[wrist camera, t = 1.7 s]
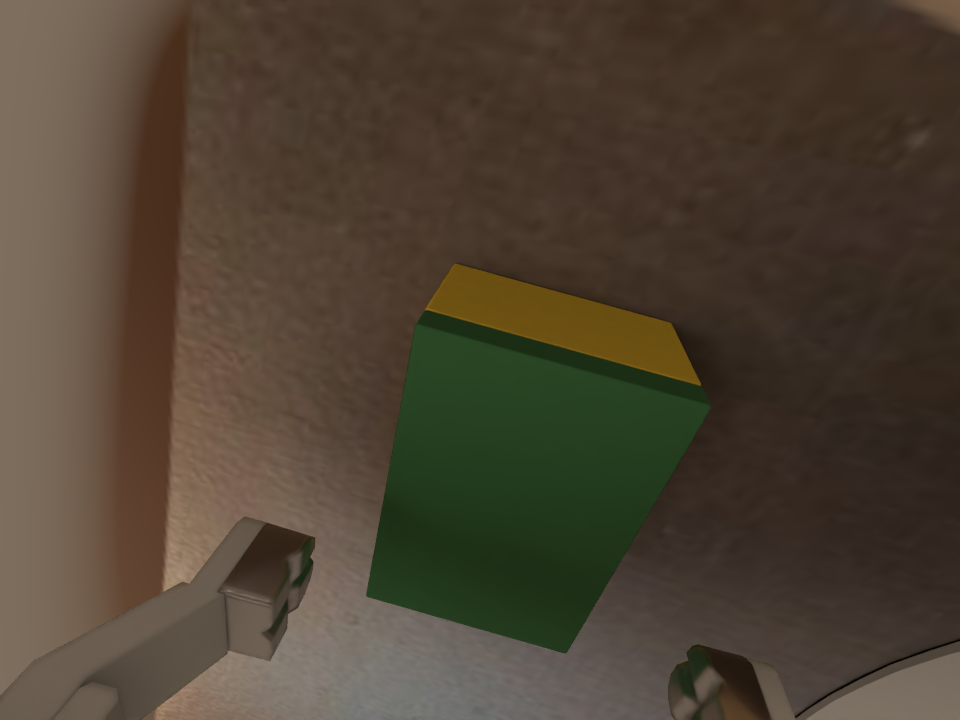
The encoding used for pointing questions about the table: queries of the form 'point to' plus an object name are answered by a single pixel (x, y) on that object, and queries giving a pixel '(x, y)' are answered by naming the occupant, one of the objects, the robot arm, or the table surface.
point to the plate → (900, 691)
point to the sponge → (527, 454)
